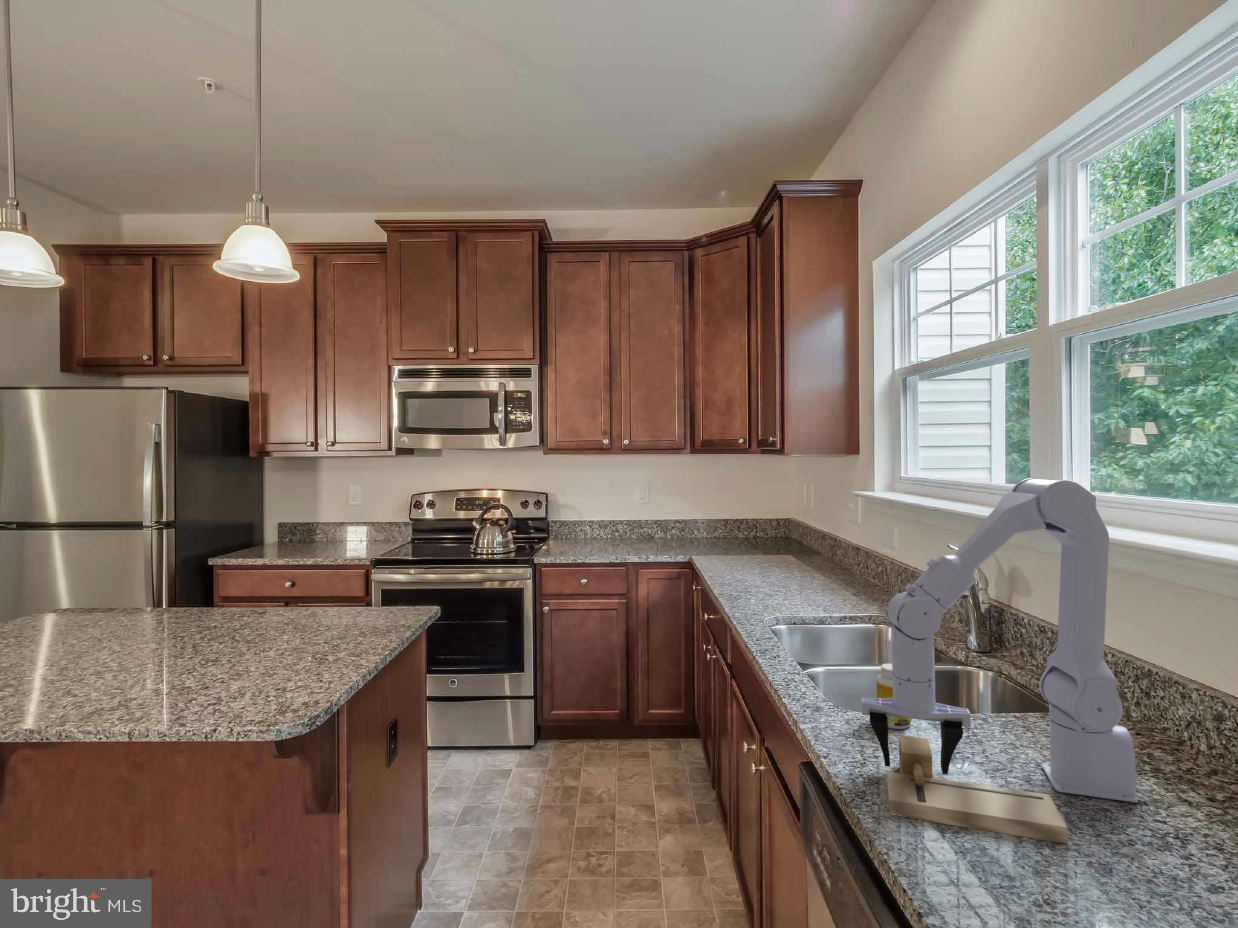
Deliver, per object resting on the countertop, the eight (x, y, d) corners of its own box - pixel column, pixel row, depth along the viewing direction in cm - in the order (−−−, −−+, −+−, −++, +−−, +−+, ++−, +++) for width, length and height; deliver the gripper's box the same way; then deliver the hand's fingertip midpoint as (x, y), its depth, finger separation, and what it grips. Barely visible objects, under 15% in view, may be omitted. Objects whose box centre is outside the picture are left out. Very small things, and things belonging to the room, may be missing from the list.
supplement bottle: (899, 733, 109) (897, 674, 109) (870, 722, 113) (869, 665, 113) (917, 725, 112) (916, 667, 112) (889, 714, 116) (888, 659, 116)
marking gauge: (928, 771, 96) (927, 738, 96) (936, 809, 85) (936, 772, 85) (899, 767, 97) (898, 734, 97) (904, 804, 87) (903, 767, 87)
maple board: (1049, 809, 85) (1049, 793, 85) (1067, 843, 77) (1067, 826, 77) (887, 785, 92) (887, 770, 92) (889, 814, 84) (889, 798, 84)
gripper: (964, 671, 95) (966, 761, 95) (860, 662, 100) (862, 748, 100) (972, 687, 88) (974, 784, 88) (860, 677, 93) (863, 769, 93)
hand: (915, 767), depth 94 cm, fingers open, 7 cm apart
